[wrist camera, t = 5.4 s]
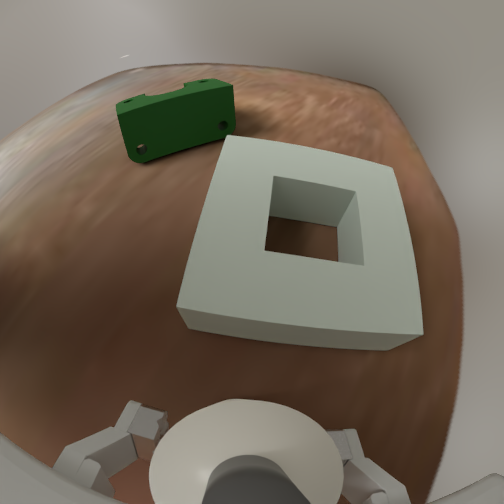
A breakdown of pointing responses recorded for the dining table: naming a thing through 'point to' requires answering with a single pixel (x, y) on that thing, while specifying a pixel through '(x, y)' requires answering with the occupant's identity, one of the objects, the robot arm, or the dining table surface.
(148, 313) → the dining table surface
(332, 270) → the housing
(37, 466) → the robot arm
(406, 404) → the dining table surface
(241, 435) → the white bottle
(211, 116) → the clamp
